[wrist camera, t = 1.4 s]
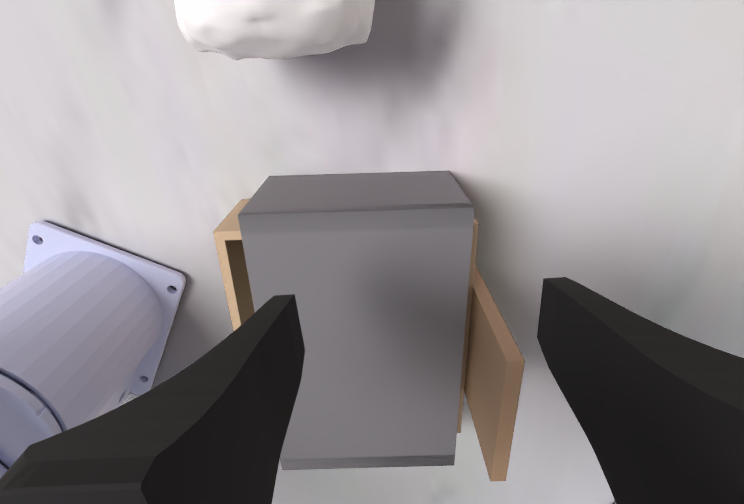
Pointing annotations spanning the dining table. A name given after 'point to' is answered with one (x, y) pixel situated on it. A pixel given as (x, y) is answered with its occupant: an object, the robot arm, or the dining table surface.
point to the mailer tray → (480, 352)
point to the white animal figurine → (274, 26)
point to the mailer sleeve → (368, 310)
